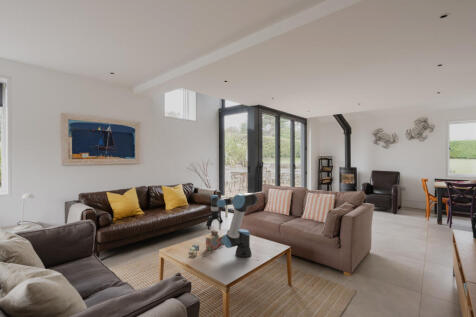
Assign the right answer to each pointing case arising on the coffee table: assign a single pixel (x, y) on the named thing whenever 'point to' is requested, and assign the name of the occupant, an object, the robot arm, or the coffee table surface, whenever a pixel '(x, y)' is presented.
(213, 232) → the walnut brick
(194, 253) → the maple brick
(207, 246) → the stack of blocks
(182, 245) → the coffee table surface
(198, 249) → the grey brick
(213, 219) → the robot arm
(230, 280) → the coffee table surface
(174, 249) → the coffee table surface
